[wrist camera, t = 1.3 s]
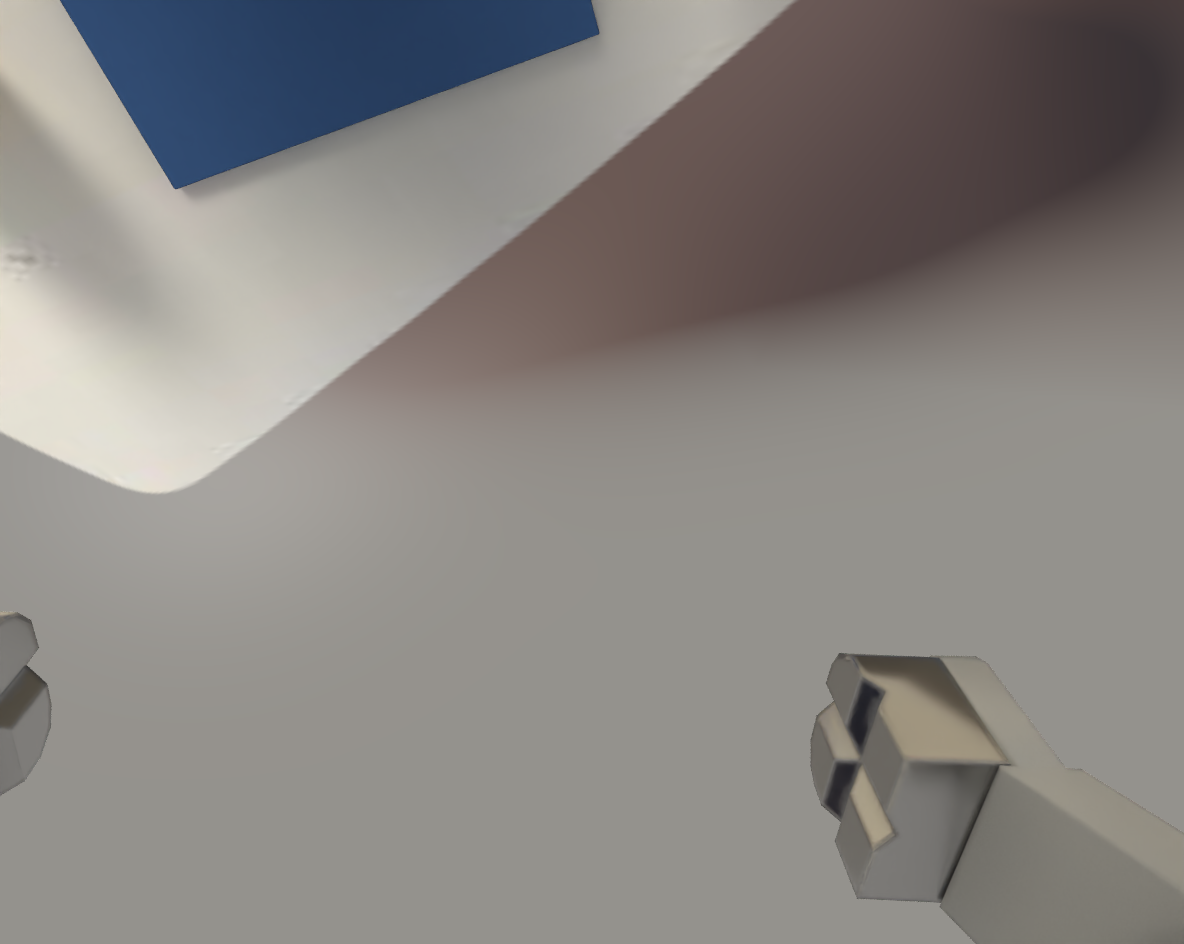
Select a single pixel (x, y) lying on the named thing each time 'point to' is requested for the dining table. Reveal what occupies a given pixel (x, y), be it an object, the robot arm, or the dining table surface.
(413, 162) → the dining table surface
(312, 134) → the blue pad
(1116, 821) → the robot arm
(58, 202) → the dining table surface
